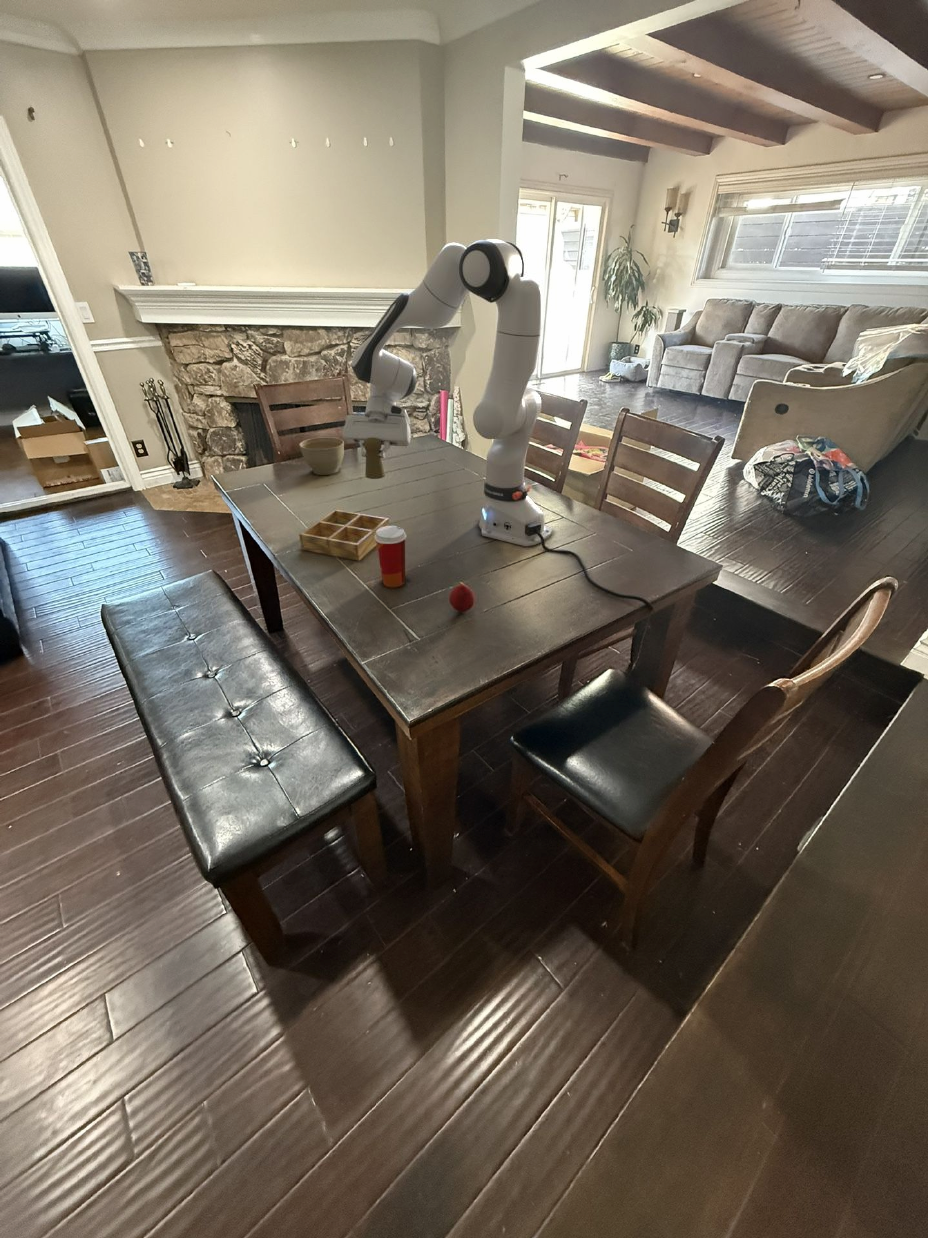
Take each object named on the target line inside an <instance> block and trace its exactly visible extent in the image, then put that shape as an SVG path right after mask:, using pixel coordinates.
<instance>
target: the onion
mask: <svg viewBox="0 0 928 1238" xmlns="http://www.w3.org/2000/svg"><path fill="white" fill-rule="evenodd" d="M475 597H476V596H475V592H474V591H473V589H472V588H470V586H468V585H466V584H465V583H463V582H461V581H460V582H459V583H458V584H457V585H456V586H455V587H453V589H452V590H451V592H450V593H449V604H450V605H451V607H452V608H453V609H454V610H456V611H457V612H458V613H461V614H463V613H466V612H468V611H469V610H472V608H473V606H475V601H476V598H475Z"/></svg>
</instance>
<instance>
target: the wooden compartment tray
mask: <svg viewBox="0 0 928 1238" xmlns="http://www.w3.org/2000/svg"><path fill="white" fill-rule="evenodd" d="M385 526H390V518H389V517H382V516H377V515H370V514H366V513H365V514H364V513H359V512H352V511H346V510H340V509H333V510H332V511H330V512H329V513H328V514H326V515H325V516H323V517H322V518H320V519H319V520H317V521H316V522H314V523H313V524H311V525H310V526H309V527H307V528H306V529H303V530H302V531H301V532H300V533H299V534H298V537H299V542H300V546H301V551H302V550H303V551H308V552H311V553H318V554H322V555H327V556H328V555H329V556H333V557H337V558H338V557H339V558H343V559H349V560H355V561H359V562H360V561H361V560H362V559H363V558H364V557H365V556H366V555H367V554H369V553H370V552H371V551H372V550H373V549H375V547H377V543H376V540H375V539H374V536H375V534H376V531H377V530H378V529H379V528H381V527H385Z"/></svg>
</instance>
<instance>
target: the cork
mask: <svg viewBox="0 0 928 1238" xmlns="http://www.w3.org/2000/svg"><path fill="white" fill-rule="evenodd" d="M363 445H364V449H365V450H366V457H365V478H366V479H370V480H379V479H384V478H385V477H386V471H385V468H384V467H385V466H384V463H383V458H380V457H379V456H378V454H379V450H382V445H381V441H380V440H379V439H377V438H367V439H366V440H364V444H363Z"/></svg>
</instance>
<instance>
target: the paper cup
mask: <svg viewBox="0 0 928 1238" xmlns="http://www.w3.org/2000/svg"><path fill="white" fill-rule="evenodd" d="M374 539H375V540H376V543H377V545H376V548H377V549H376V550H377V555H378V561H379V568H380V573H381V578H382V583H383V585H384V586H385V587H387V588H398V587H401V586H403V585H404V584H405V582H406V539H407V534H406V532H405V530H404V528H402V527H399V526H397V525H389V526H385V527H381V528H379V529H378V530H377V531H376V534H375V536H374Z"/></svg>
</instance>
